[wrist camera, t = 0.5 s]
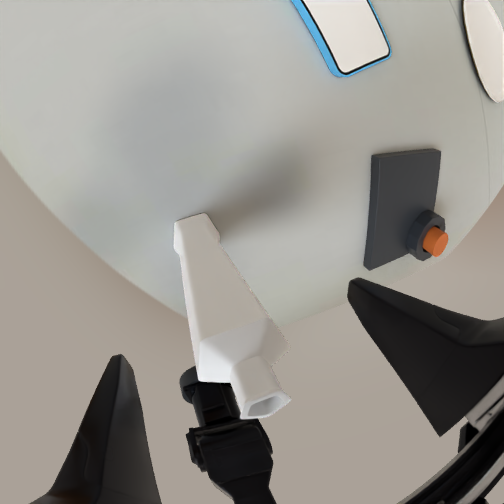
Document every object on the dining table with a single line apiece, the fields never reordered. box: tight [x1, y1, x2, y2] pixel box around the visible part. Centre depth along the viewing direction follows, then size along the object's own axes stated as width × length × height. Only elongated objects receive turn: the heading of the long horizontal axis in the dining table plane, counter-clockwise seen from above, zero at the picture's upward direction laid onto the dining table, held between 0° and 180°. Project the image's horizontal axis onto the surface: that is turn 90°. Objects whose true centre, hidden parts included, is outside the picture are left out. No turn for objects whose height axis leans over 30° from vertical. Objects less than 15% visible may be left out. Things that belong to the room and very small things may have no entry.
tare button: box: [422, 226, 448, 257], centre depth 28 cm, size 3×3×2 cm
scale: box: [364, 149, 445, 271], centre depth 27 cm, size 14×12×3 cm
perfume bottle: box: [173, 213, 291, 419], centre depth 15 cm, size 5×4×15 cm
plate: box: [462, 0, 504, 102], centre depth 19 cm, size 21×21×1 cm
